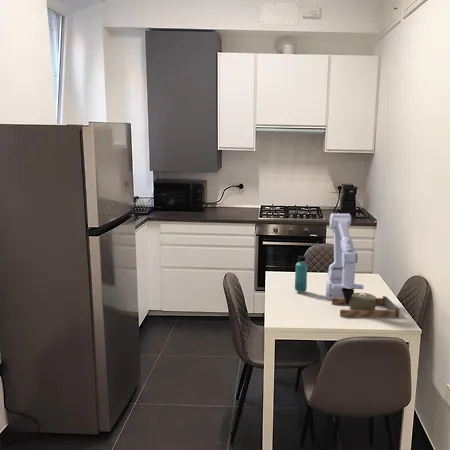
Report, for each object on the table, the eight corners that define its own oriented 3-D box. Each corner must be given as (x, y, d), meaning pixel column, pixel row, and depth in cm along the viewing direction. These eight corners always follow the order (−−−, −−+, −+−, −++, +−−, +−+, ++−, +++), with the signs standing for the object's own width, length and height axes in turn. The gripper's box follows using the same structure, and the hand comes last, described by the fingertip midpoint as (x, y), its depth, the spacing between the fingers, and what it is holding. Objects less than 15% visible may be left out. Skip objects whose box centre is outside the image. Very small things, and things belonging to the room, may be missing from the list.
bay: (340, 316, 209) (341, 308, 209) (331, 303, 227) (332, 295, 226) (398, 317, 209) (399, 309, 209) (385, 303, 227) (385, 296, 226)
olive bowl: (350, 313, 213) (351, 299, 212) (348, 305, 225) (349, 291, 224) (376, 315, 211) (377, 301, 210) (373, 306, 223) (374, 293, 221)
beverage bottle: (305, 290, 247) (306, 254, 244) (307, 294, 241) (309, 257, 237) (293, 290, 247) (294, 254, 244) (295, 294, 241) (296, 257, 237)
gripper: (335, 278, 211) (333, 306, 214) (366, 278, 211) (364, 306, 214) (331, 274, 218) (330, 300, 221) (361, 274, 218) (360, 301, 221)
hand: (346, 303), depth 218 cm, fingers closed
